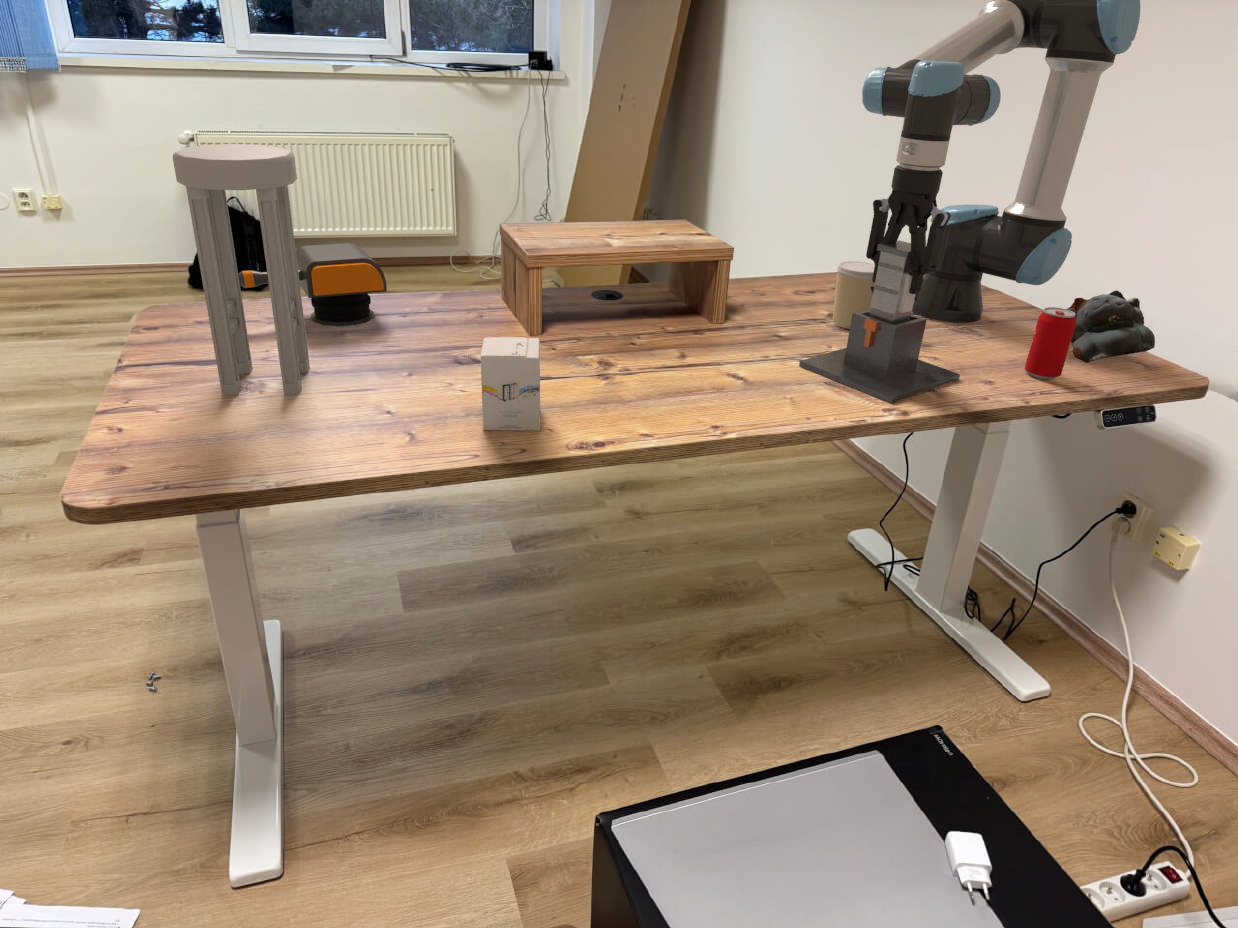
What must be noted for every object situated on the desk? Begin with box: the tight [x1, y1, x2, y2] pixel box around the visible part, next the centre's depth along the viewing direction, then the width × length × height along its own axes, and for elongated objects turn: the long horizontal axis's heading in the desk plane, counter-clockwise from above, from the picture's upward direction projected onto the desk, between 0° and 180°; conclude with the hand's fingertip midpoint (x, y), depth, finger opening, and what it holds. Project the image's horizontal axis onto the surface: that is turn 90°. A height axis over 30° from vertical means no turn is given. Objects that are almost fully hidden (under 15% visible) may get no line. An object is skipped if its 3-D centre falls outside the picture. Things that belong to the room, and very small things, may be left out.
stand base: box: [798, 309, 961, 404], centre depth 154 cm, size 20×20×10 cm
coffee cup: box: [832, 260, 875, 330], centre depth 178 cm, size 9×9×12 cm
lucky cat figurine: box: [1066, 290, 1156, 364], centre depth 168 cm, size 15×12×14 cm
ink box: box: [480, 336, 541, 431], centre depth 128 cm, size 9×8×12 cm
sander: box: [238, 242, 388, 328], centre depth 164 cm, size 15×25×13 cm, turn 117°
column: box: [869, 239, 914, 325], centre depth 150 cm, size 6×6×21 cm
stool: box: [172, 143, 311, 397], centre depth 131 cm, size 16×16×35 cm
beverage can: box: [1024, 306, 1076, 380], centre depth 157 cm, size 6×6×12 cm
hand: (891, 306), depth 150 cm, fingers closed on column, 5 cm apart
